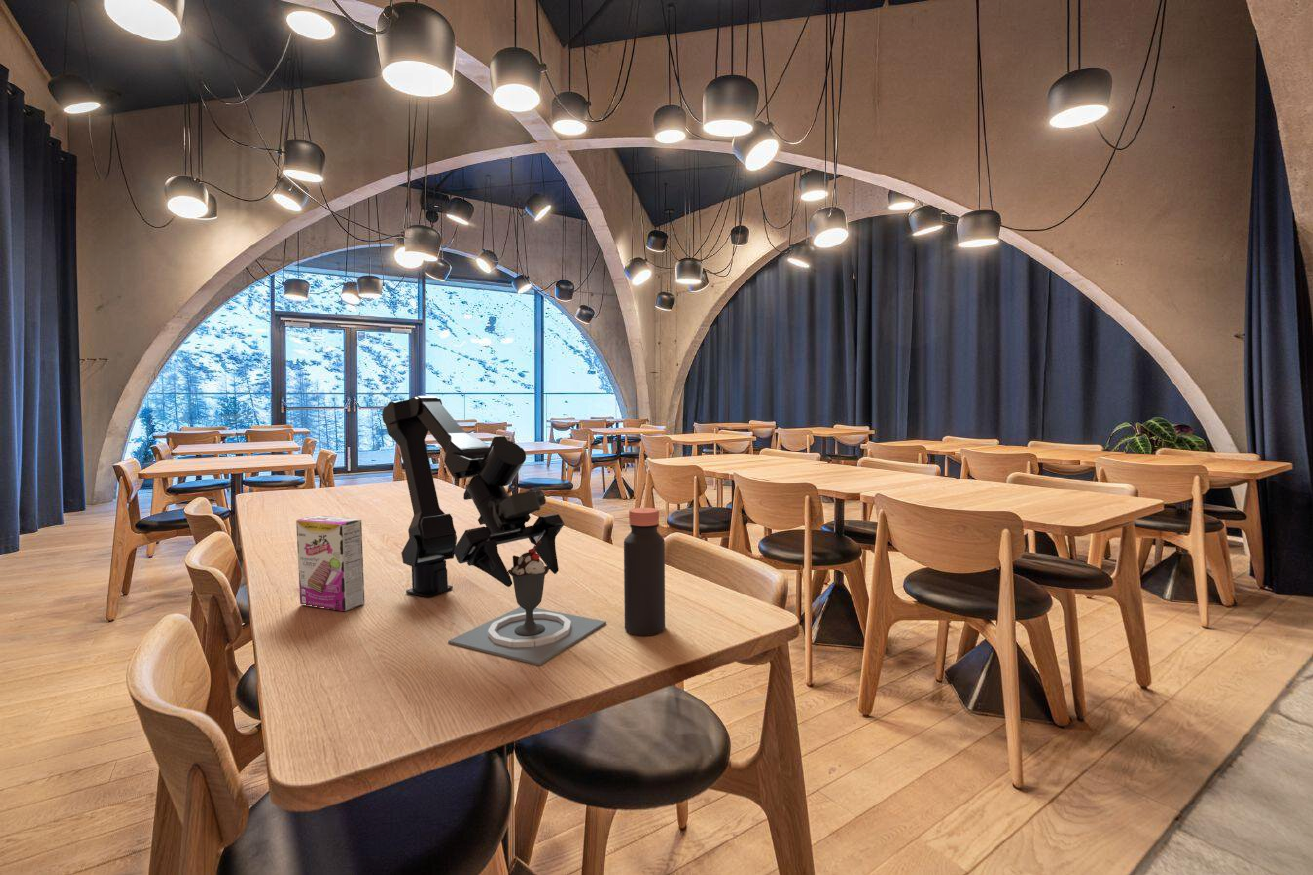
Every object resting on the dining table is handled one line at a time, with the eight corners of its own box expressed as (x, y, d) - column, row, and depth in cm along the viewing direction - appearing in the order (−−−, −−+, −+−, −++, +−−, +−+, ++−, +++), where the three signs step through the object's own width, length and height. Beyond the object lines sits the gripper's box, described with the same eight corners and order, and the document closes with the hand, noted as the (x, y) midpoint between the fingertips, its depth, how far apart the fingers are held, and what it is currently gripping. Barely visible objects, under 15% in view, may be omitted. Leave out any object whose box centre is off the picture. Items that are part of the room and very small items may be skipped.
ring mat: (448, 643, 95) (448, 635, 94) (523, 607, 110) (523, 601, 110) (539, 665, 86) (539, 657, 86) (606, 623, 102) (606, 616, 102)
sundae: (553, 634, 97) (552, 542, 96) (511, 640, 94) (509, 546, 93) (547, 620, 103) (545, 534, 102) (507, 625, 101) (505, 537, 100)
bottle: (635, 639, 95) (634, 515, 94) (618, 625, 101) (616, 508, 100) (672, 632, 98) (672, 511, 97) (653, 618, 104) (653, 505, 103)
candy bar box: (297, 606, 112) (294, 519, 111) (320, 598, 116) (317, 514, 115) (344, 613, 108) (340, 523, 107) (366, 604, 113) (362, 518, 112)
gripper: (461, 479, 92) (505, 562, 86) (556, 468, 106) (600, 538, 100) (437, 522, 98) (476, 603, 91) (530, 506, 112) (570, 576, 105)
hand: (534, 578), depth 97 cm, fingers open, 9 cm apart
